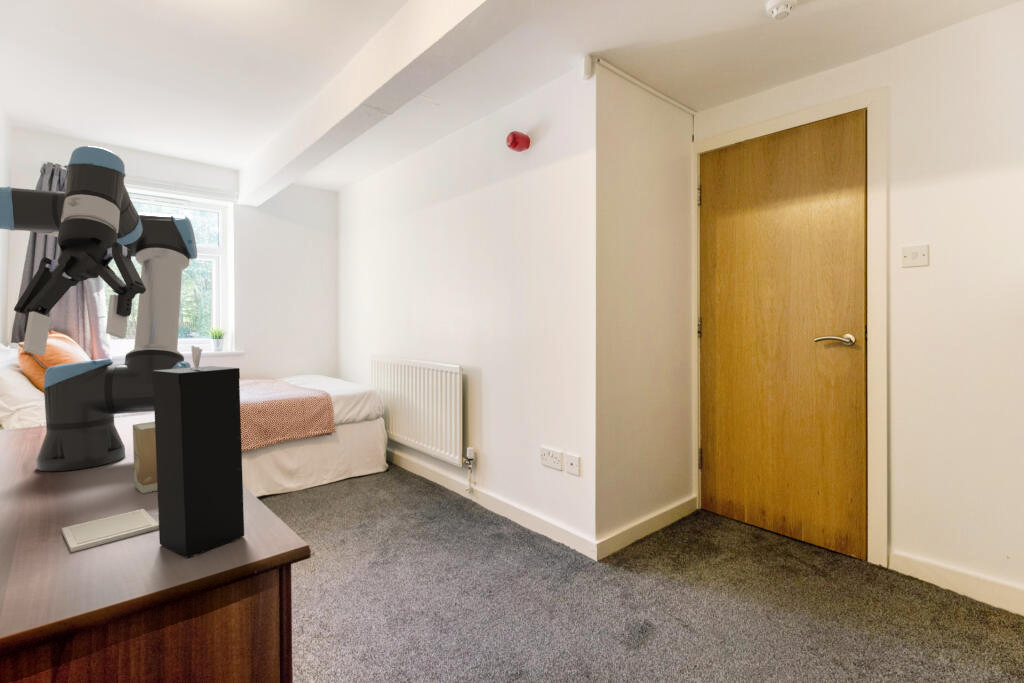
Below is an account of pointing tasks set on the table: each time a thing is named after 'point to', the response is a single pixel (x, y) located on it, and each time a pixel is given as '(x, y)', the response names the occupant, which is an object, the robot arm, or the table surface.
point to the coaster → (108, 529)
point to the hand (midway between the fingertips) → (74, 344)
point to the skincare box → (145, 457)
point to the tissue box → (198, 456)
